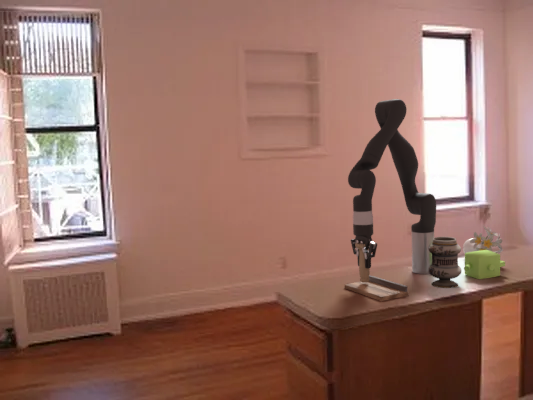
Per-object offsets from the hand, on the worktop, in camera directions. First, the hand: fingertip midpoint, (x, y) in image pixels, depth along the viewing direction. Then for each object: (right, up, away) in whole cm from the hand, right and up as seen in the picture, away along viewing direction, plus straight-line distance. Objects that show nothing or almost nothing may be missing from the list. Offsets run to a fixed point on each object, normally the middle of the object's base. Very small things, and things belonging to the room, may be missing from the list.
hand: (364, 266), depth 214 cm
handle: (0, -6, +1) cm, 6 cm away
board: (+3, -9, -6) cm, 11 cm away
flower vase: (+58, -2, +35) cm, 68 cm away
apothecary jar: (+31, -7, 0) cm, 32 cm away
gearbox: (+49, -5, +10) cm, 50 cm away
